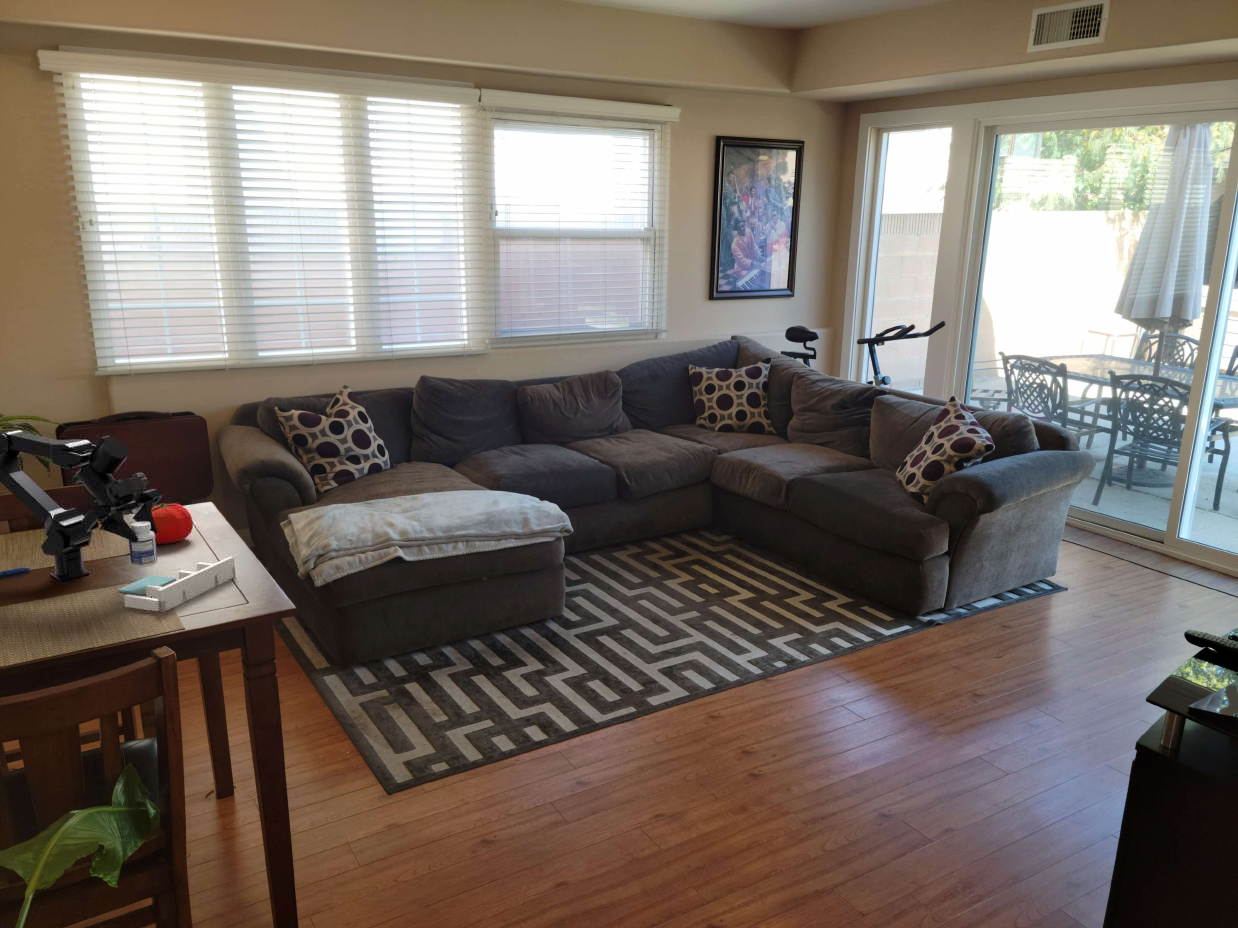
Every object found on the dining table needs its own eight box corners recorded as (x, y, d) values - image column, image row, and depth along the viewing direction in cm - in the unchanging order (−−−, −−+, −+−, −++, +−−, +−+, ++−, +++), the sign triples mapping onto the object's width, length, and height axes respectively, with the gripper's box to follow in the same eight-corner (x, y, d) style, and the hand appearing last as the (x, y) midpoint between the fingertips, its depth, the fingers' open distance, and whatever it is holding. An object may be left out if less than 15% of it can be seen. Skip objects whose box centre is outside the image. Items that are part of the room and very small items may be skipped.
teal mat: (118, 591, 204) (117, 589, 204) (151, 576, 213) (151, 574, 213) (143, 595, 202) (143, 593, 202) (176, 580, 211) (175, 578, 211)
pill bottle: (137, 560, 209) (133, 520, 207) (161, 560, 209) (157, 520, 207) (126, 568, 203) (123, 526, 201) (151, 568, 204) (148, 526, 202)
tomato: (190, 532, 247) (186, 495, 244) (198, 544, 237) (194, 506, 234) (135, 540, 239) (131, 502, 237) (141, 553, 229) (137, 513, 227)
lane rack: (125, 606, 195) (122, 585, 194) (200, 571, 217) (199, 552, 216) (162, 612, 193) (160, 590, 192) (235, 576, 214) (233, 556, 213)
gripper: (85, 473, 193) (132, 527, 193) (152, 455, 211) (195, 505, 210) (61, 504, 197) (106, 558, 197) (128, 484, 215) (170, 533, 214)
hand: (146, 537), depth 204 cm, fingers closed on pill bottle, 5 cm apart
